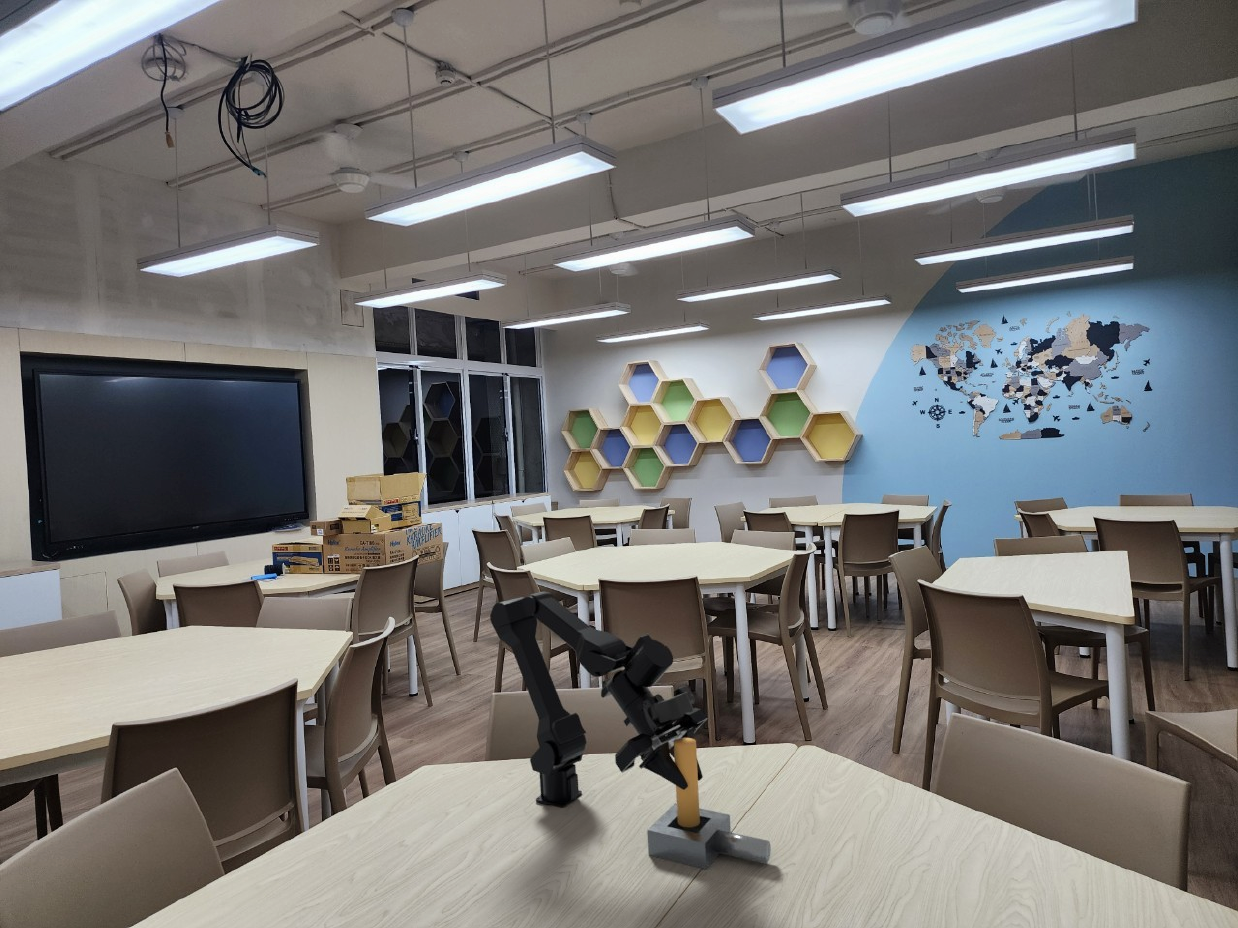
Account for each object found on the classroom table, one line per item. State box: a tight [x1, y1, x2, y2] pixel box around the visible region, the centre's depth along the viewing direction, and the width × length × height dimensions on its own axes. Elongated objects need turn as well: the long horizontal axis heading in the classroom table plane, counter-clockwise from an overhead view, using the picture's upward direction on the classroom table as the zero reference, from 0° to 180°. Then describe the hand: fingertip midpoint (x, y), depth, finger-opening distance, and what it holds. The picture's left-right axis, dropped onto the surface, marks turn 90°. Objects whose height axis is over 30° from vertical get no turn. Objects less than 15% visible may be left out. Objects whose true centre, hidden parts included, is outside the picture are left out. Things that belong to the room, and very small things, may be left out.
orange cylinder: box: [673, 738, 700, 827], centre depth 122 cm, size 4×4×13 cm
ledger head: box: [646, 802, 772, 870], centre depth 120 cm, size 18×10×4 cm, turn 60°
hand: (693, 783), depth 121 cm, fingers closed on orange cylinder, 4 cm apart
